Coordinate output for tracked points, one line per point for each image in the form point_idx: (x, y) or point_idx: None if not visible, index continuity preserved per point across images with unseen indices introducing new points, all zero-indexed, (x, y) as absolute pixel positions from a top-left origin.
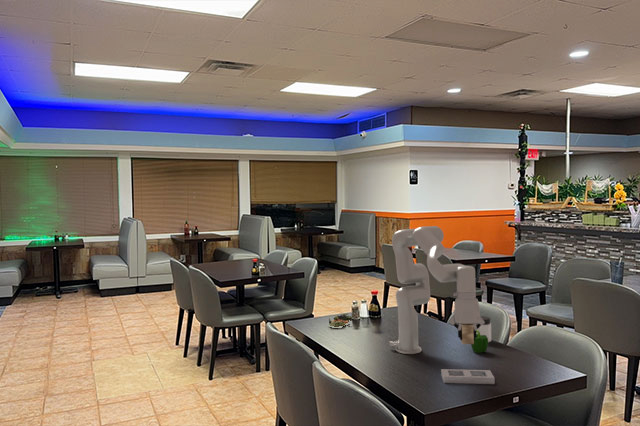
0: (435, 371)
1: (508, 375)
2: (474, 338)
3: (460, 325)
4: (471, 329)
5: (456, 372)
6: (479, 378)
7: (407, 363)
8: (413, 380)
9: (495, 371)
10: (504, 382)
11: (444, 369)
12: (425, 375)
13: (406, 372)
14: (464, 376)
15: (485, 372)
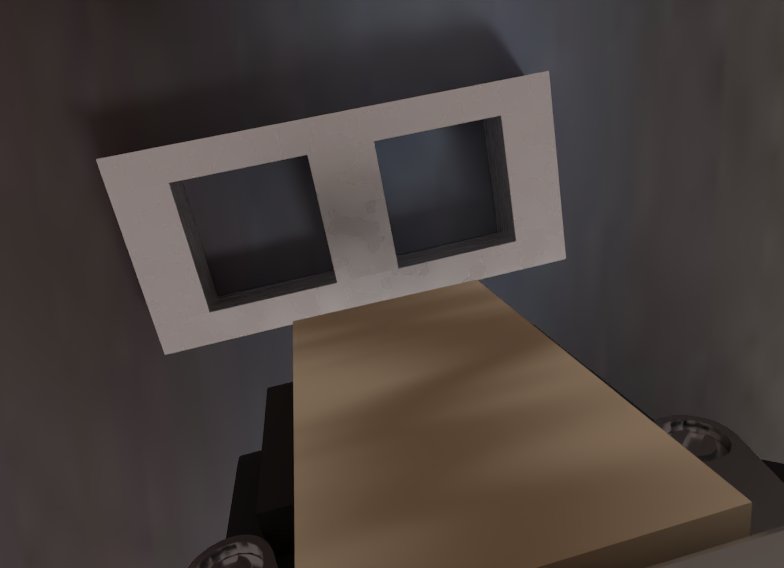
0: (582, 312)
1: (26, 397)
2: (278, 397)
3: (754, 525)
4: (356, 477)
5: (441, 253)
6: (239, 131)
7: (754, 407)
8: (739, 72)
9: (144, 451)
10: (36, 222)
11: (540, 259)
12: (652, 206)
13: (773, 231)
14: (373, 124)
15: (196, 284)
